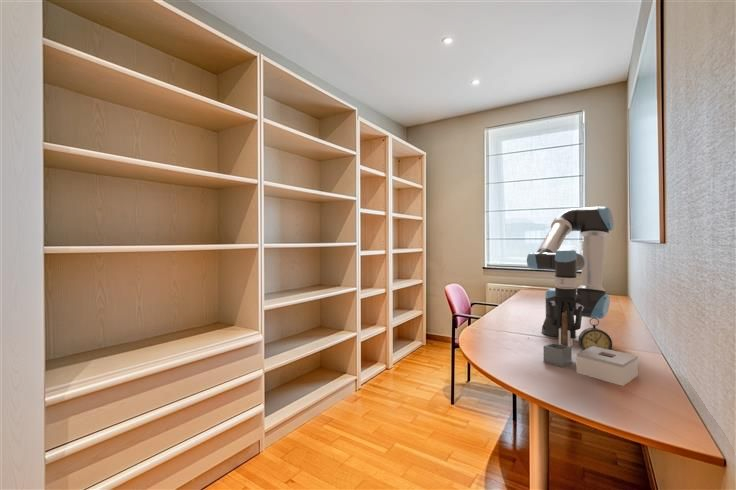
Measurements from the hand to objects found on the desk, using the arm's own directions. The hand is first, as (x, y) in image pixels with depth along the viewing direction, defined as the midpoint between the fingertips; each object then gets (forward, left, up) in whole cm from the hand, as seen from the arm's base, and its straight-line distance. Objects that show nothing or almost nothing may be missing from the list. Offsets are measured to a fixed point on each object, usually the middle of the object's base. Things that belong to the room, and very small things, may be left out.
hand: (565, 344), depth 139 cm
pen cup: (+9, +1, -5) cm, 11 cm away
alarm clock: (-8, +7, -5) cm, 12 cm away
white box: (+7, +17, -5) cm, 19 cm away
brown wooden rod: (0, 0, -5) cm, 5 cm away
